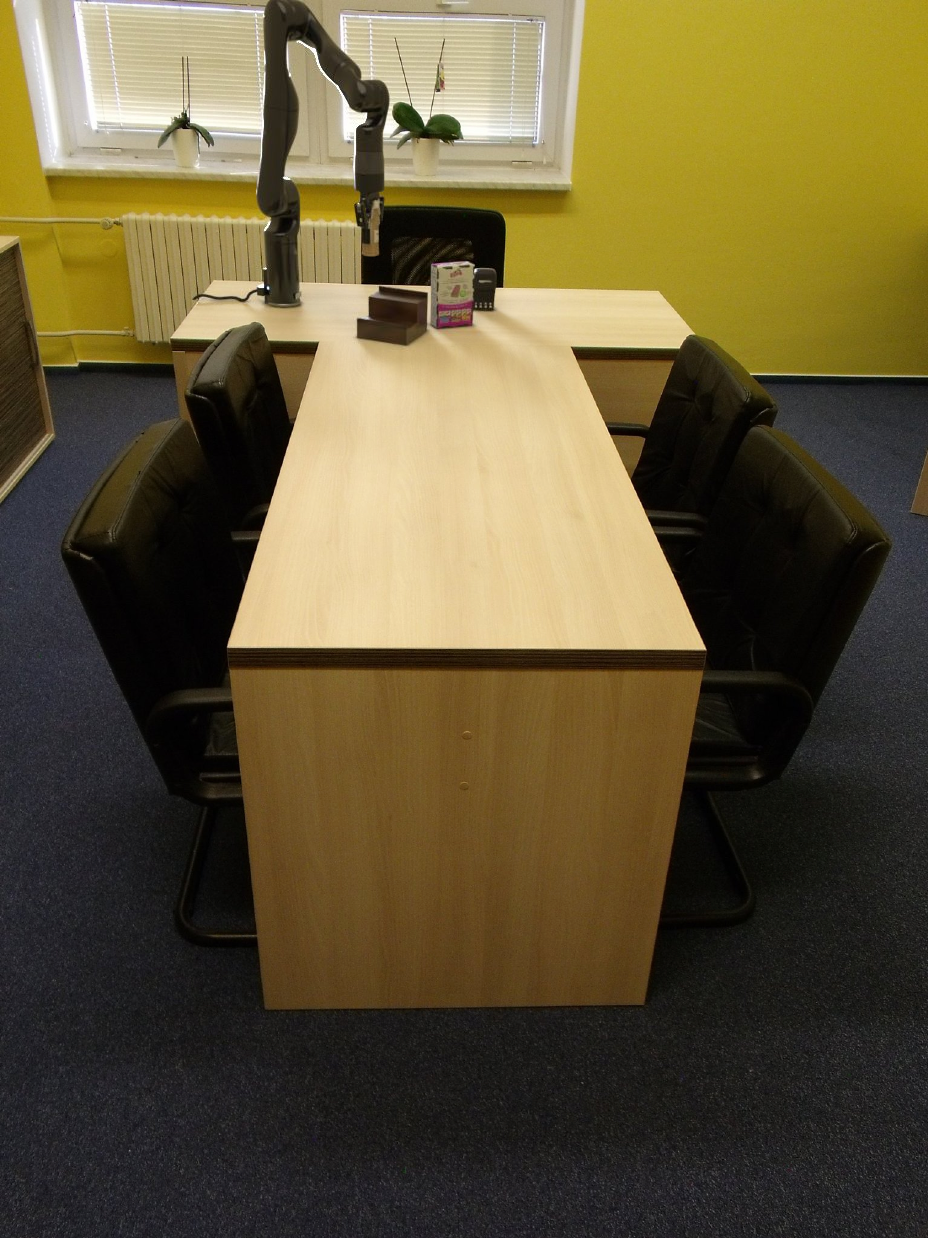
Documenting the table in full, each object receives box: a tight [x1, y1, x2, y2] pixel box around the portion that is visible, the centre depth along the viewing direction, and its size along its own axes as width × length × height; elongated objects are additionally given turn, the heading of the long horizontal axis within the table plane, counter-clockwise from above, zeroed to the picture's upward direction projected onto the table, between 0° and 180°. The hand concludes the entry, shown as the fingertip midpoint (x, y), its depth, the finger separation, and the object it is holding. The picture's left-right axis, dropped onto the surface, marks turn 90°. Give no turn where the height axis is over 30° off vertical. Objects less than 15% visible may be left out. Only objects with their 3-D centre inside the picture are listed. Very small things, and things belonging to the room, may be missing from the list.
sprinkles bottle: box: [361, 200, 380, 257], centre depth 259 cm, size 5×5×13 cm
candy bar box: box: [429, 260, 476, 330], centre depth 275 cm, size 11×5×16 cm, turn 115°
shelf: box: [356, 285, 429, 346], centre depth 267 cm, size 14×15×10 cm
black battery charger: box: [473, 267, 498, 311], centre depth 291 cm, size 7×4×11 cm, turn 95°
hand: (370, 241), depth 261 cm, fingers closed on sprinkles bottle, 4 cm apart
